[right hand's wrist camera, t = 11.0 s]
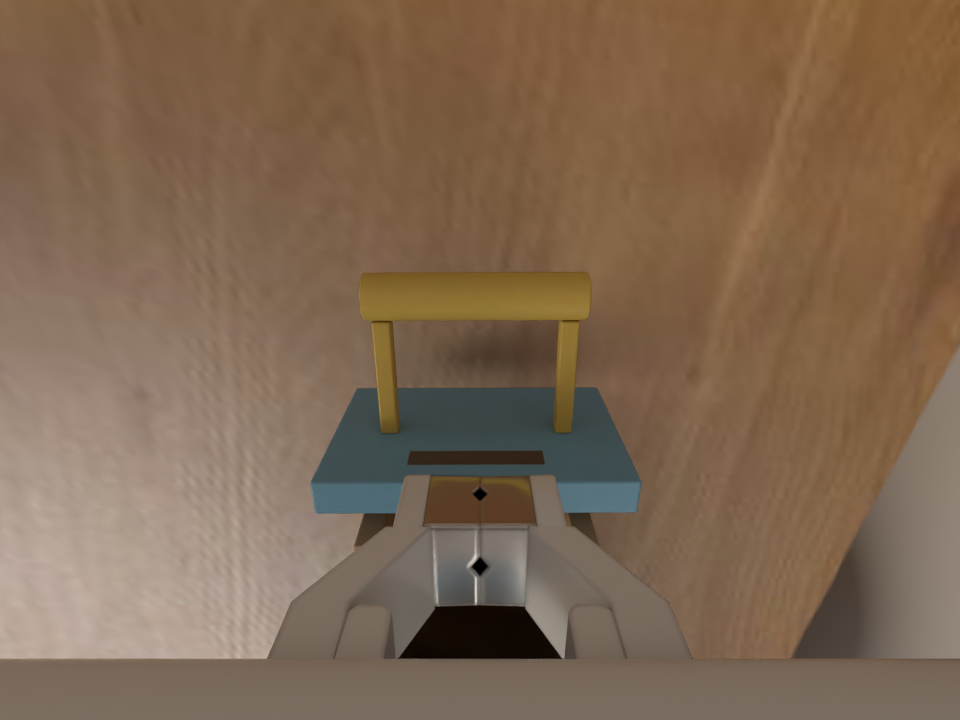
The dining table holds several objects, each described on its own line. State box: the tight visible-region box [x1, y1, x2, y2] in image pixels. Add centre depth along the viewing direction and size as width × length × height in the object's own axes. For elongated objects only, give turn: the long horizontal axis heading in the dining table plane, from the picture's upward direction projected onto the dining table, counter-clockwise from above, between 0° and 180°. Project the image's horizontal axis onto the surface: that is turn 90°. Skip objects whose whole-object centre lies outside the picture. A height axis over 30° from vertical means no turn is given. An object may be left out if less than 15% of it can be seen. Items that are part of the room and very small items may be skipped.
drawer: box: [310, 272, 641, 659], centre depth 21 cm, size 25×10×6 cm, turn 0°
